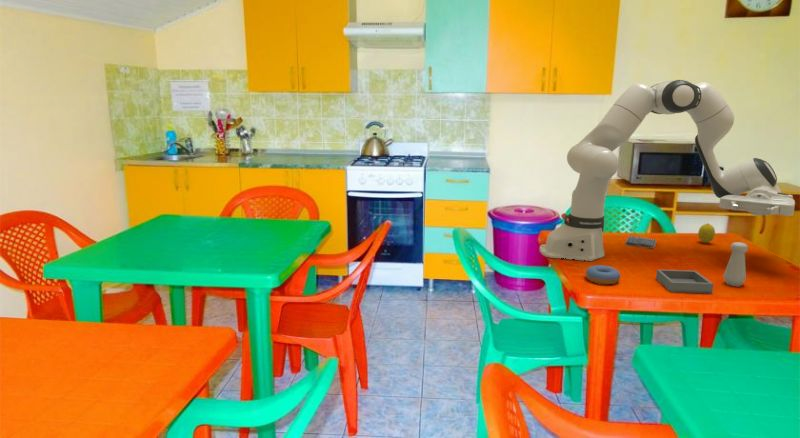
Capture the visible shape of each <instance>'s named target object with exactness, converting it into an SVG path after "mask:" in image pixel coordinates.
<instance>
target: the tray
mask: <svg viewBox="0 0 800 438" xmlns="http://www.w3.org/2000/svg"><path fill="white" fill-rule="evenodd" d="M655 279H656V280H657V282H659V283H660V284H661V285H662V286H663V285H664V286H665V287H666V288H665V289H666V290H667V291H669V292H670V293H679V292H681V293H683V294H685V293H686V294H687V293H688V294H708V293H709V294H711V295H712V294H713V290H714V283H713V282H711V281H710V280H709V279H708V278H706V277H705V276H703V274H701V273H700V272H698V271H697V270H687V269H686V270H681V269H680V270H678V269H656V275H655ZM664 286H663V287H664ZM679 294H680V293H679Z"/></svg>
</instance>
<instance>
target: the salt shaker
mask: <svg viewBox="0 0 800 438" xmlns="http://www.w3.org/2000/svg"><path fill="white" fill-rule="evenodd" d="M748 247H749V246H748V245H747V243H744V242H740V241H739V242H738V241H736V242H732V243H731V245H730V250H731V251H732V252H731V255H730V258H729V260H728V262H727V266H726V268H725V270H724V274H723V279H724V281H725V283H726V285H727V286H730V285H731V287H736V288H737V287H741V286H742V285H743V283H745V281H746V279H747V276H746V275H747V273H746V271H747V270H746V269H747V268H746V253H747V252H748Z"/></svg>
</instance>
